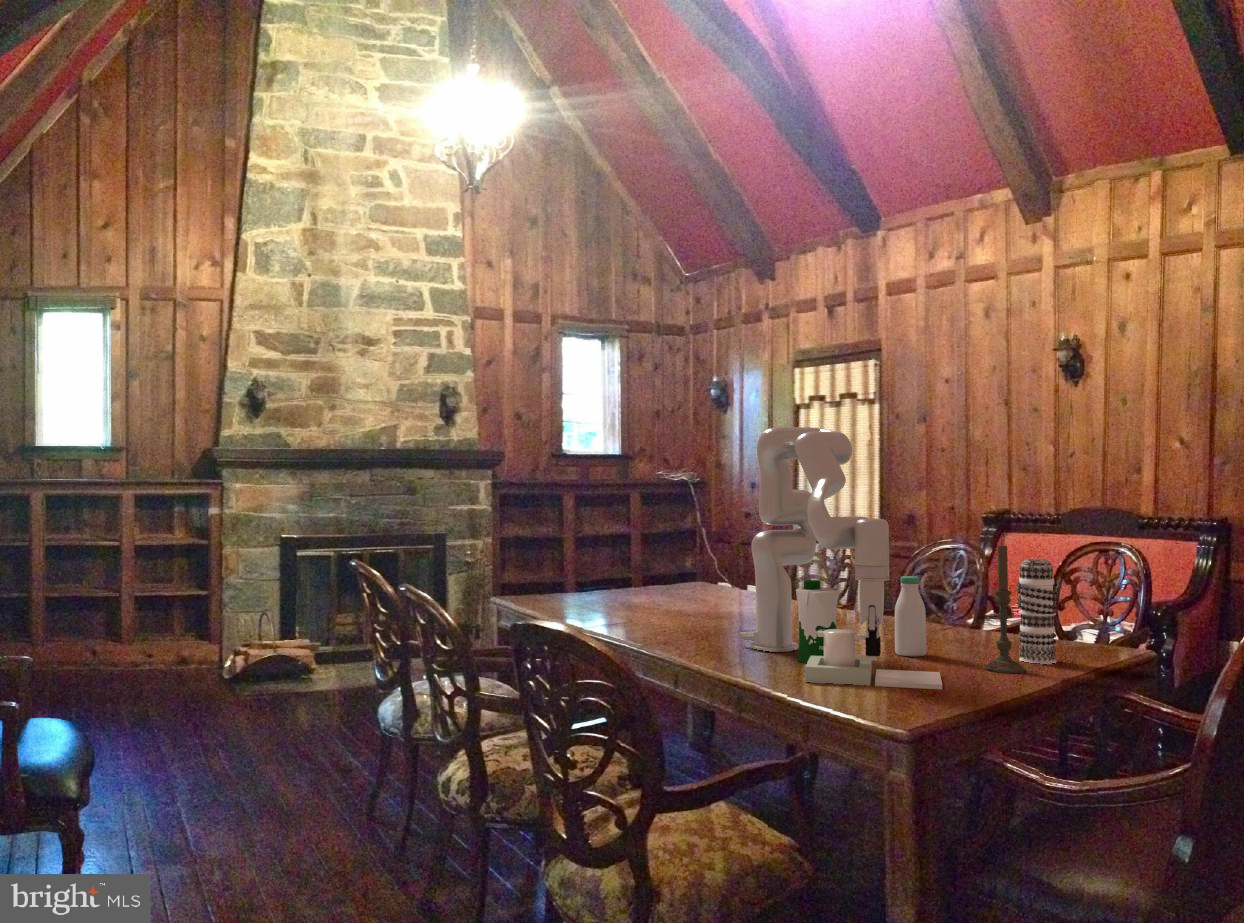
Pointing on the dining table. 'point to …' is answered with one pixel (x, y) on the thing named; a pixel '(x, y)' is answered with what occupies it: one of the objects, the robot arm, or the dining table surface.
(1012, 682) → the dining table surface
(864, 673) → the holder
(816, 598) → the milk carton
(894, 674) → the tile
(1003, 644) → the candlestick holder
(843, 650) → the capsule with loop handle
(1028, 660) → the decorative candle
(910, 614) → the milk bottle
